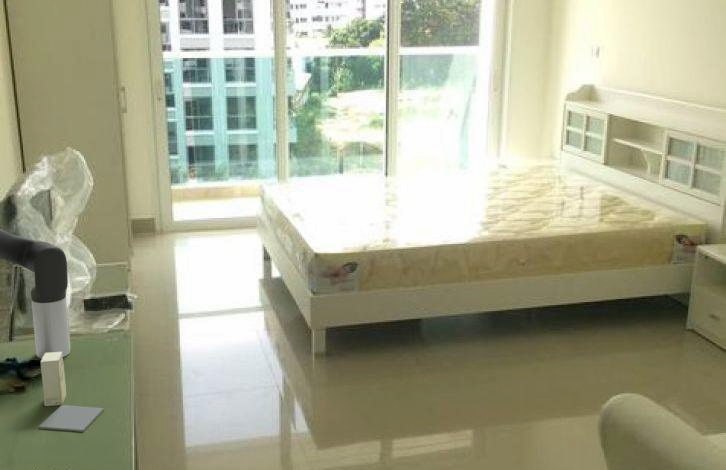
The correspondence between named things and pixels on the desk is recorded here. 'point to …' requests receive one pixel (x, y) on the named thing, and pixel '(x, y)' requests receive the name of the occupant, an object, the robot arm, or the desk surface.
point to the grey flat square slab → (71, 418)
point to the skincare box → (53, 378)
